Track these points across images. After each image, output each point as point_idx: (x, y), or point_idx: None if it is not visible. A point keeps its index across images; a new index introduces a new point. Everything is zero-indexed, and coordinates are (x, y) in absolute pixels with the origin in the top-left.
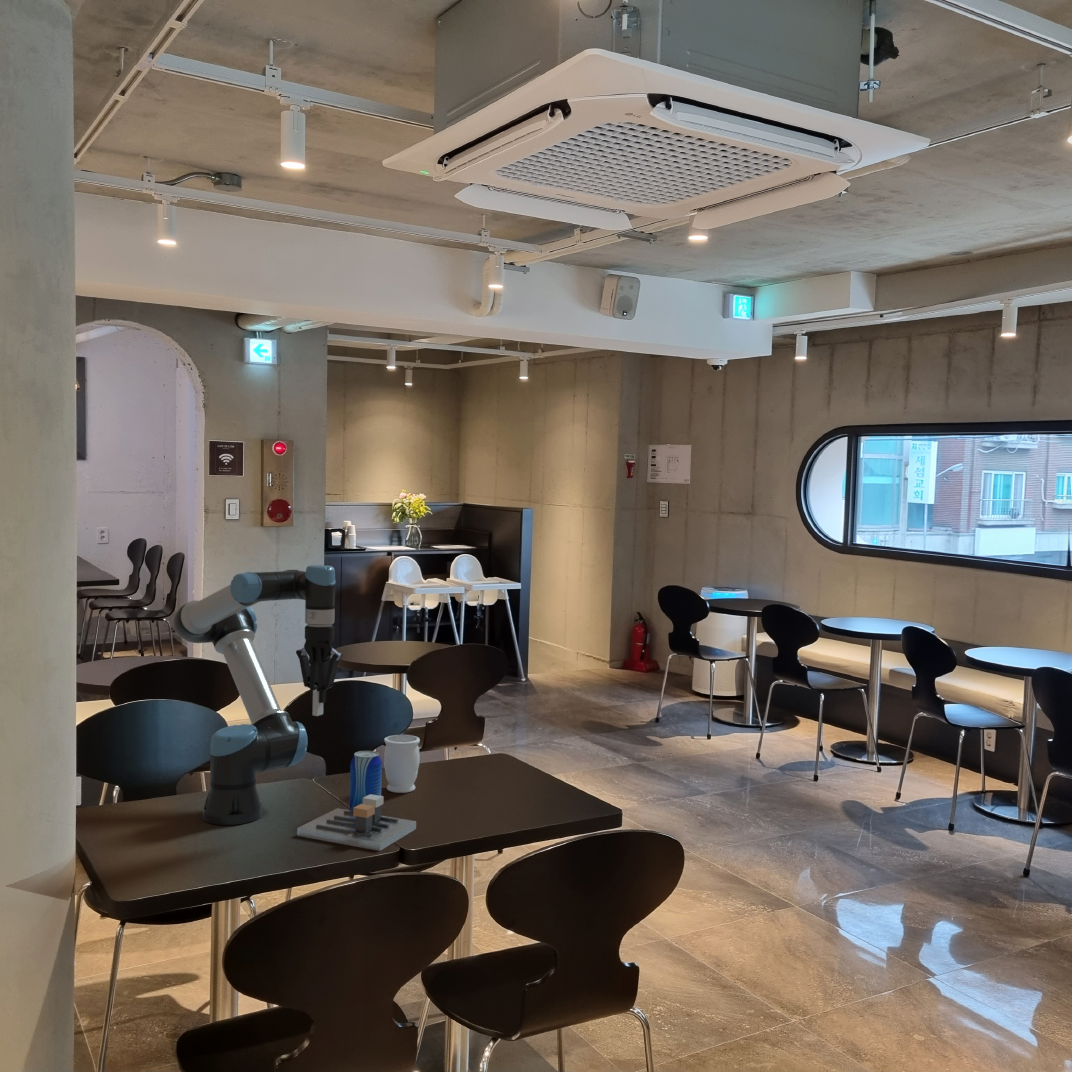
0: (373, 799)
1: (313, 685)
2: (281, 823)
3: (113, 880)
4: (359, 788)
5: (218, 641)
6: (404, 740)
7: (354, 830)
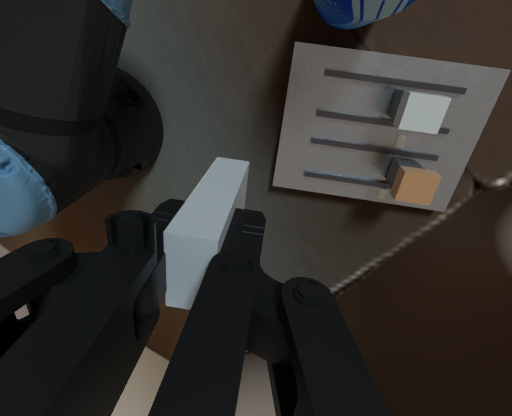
0: (428, 131)
1: (148, 338)
2: (213, 129)
3: (160, 346)
4: (358, 25)
5: None
6: None
7: (380, 168)
